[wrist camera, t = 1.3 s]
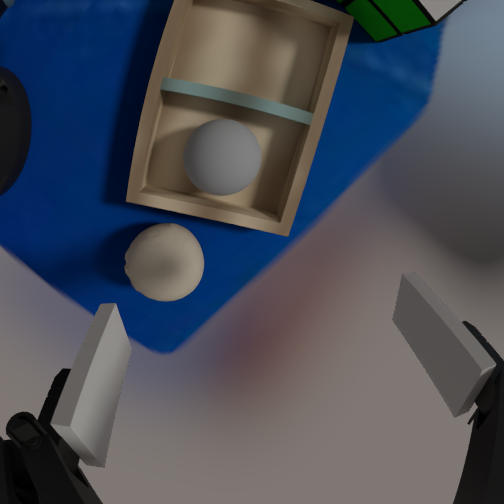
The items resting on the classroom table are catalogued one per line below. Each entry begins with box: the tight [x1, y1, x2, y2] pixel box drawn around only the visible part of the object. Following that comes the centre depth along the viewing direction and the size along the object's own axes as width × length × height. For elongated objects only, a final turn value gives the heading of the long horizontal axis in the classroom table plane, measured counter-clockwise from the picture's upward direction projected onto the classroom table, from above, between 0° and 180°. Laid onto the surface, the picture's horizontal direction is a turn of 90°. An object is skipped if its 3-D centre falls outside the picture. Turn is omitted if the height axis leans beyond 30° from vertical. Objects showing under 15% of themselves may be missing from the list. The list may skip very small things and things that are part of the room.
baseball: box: [124, 223, 204, 301], centre depth 28 cm, size 7×7×7 cm
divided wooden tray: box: [126, 0, 354, 236], centre depth 24 cm, size 14×20×4 cm
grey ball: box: [183, 119, 261, 196], centre depth 24 cm, size 6×6×6 cm
